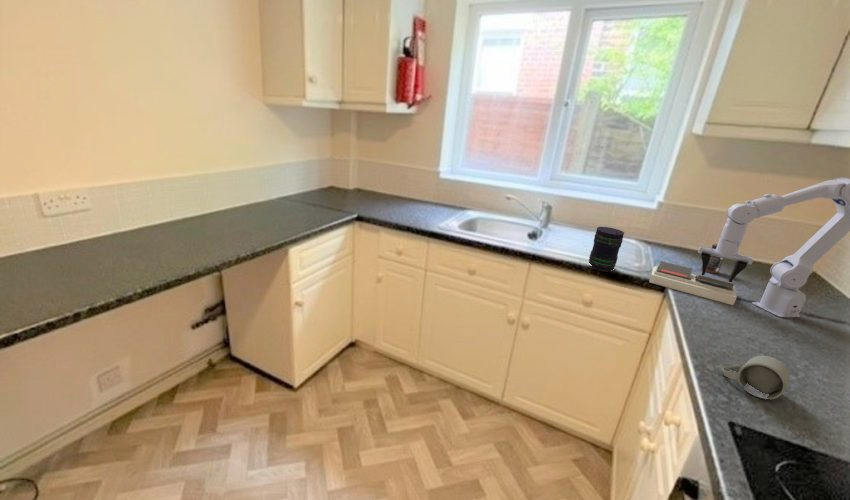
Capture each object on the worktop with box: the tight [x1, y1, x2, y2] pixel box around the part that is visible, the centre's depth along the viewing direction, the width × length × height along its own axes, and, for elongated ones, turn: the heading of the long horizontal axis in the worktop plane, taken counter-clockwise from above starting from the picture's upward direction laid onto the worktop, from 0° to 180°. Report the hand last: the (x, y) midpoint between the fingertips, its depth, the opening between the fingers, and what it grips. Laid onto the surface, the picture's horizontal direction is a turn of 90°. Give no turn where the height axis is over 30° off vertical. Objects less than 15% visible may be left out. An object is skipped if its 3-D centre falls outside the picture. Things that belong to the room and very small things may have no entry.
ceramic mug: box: [721, 355, 790, 400], centre depth 84 cm, size 11×8×8 cm
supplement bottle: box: [701, 243, 725, 275], centre depth 155 cm, size 6×6×11 cm
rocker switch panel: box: [648, 264, 737, 306], centre depth 137 cm, size 25×12×4 cm, turn 55°
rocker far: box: [657, 260, 693, 280], centre depth 139 cm, size 10×7×1 cm
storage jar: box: [588, 226, 625, 272], centre depth 148 cm, size 10×10×15 cm
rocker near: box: [696, 274, 735, 287], centre depth 133 cm, size 10×7×1 cm
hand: (716, 277), depth 130 cm, fingers open, 7 cm apart
